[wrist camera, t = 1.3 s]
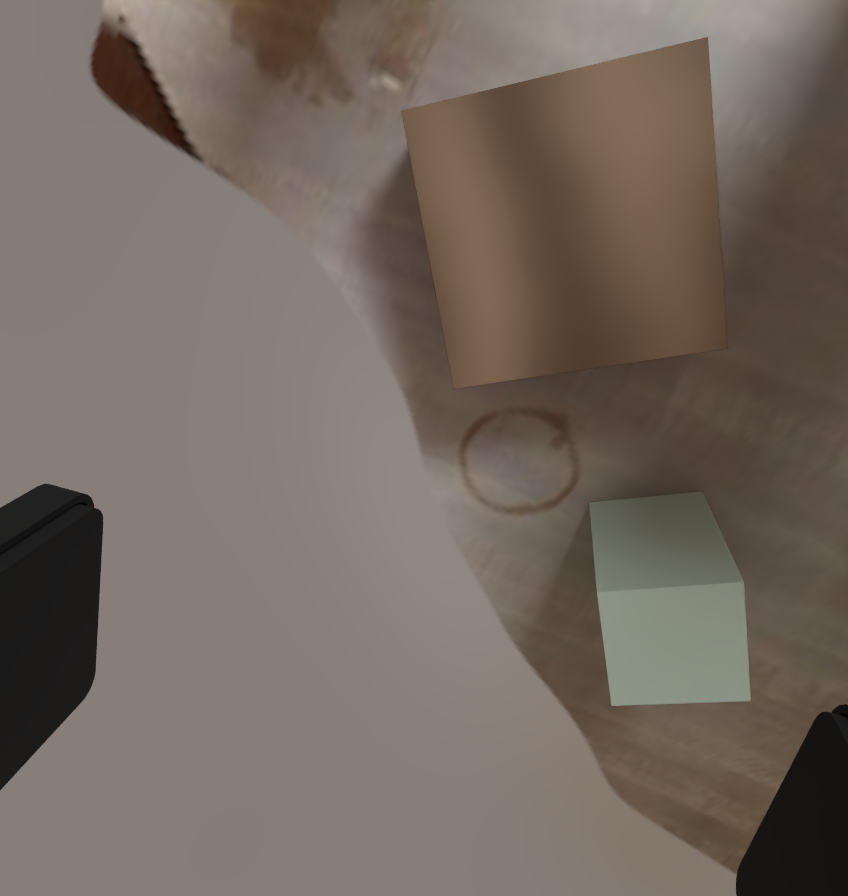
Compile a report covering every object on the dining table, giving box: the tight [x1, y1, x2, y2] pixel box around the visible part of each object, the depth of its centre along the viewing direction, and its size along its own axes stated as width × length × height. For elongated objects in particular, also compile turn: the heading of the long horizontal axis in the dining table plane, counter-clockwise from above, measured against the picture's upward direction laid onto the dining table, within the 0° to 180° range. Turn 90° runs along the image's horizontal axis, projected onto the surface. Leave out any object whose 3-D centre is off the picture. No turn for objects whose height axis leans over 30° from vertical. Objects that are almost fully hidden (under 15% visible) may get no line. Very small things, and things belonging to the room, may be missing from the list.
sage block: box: [589, 491, 751, 706], centre depth 30 cm, size 5×5×8 cm
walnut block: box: [401, 37, 728, 389], centre depth 28 cm, size 10×10×5 cm
